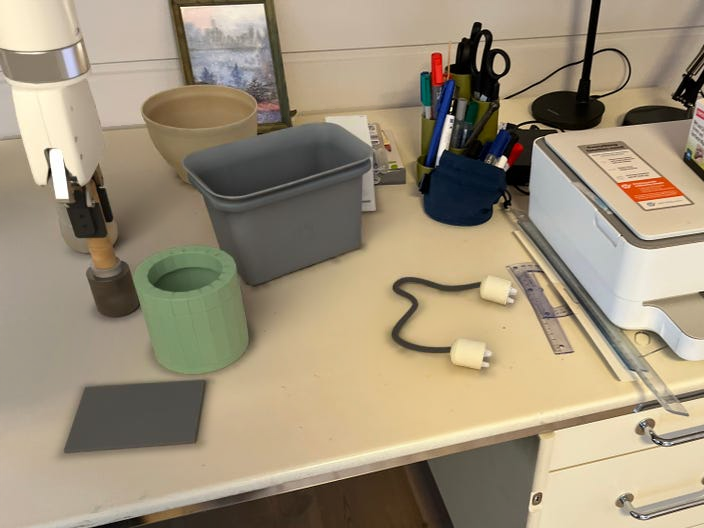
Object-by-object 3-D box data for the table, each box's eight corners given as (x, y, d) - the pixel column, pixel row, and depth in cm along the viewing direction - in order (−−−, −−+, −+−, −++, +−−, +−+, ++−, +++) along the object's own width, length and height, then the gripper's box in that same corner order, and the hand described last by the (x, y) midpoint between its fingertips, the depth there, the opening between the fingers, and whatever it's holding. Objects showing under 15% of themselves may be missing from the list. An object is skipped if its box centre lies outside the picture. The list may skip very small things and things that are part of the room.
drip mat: (64, 453, 72) (63, 450, 72) (86, 389, 79) (84, 387, 78) (195, 443, 74) (194, 440, 74) (205, 382, 81) (204, 379, 80)
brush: (93, 317, 87) (52, 193, 77) (101, 294, 91) (63, 173, 80) (135, 316, 88) (100, 193, 78) (142, 293, 92) (109, 172, 81)
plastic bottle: (111, 260, 97) (65, 109, 84) (58, 258, 97) (3, 106, 84) (129, 234, 102) (87, 87, 89) (78, 232, 101) (29, 84, 88)
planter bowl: (179, 209, 107) (163, 137, 100) (142, 164, 117) (125, 95, 110) (283, 183, 115) (275, 114, 108) (241, 143, 125) (231, 77, 118)
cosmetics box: (328, 179, 117) (323, 114, 110) (370, 178, 118) (368, 113, 111) (331, 213, 109) (326, 145, 102) (376, 211, 110) (374, 144, 103)
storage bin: (239, 306, 91) (220, 200, 82) (187, 249, 100) (164, 147, 91) (386, 253, 102) (384, 154, 93) (328, 205, 111) (320, 111, 101)
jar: (147, 377, 81) (124, 302, 74) (162, 319, 88) (142, 246, 82) (245, 371, 82) (231, 297, 76) (251, 315, 90) (239, 243, 83)
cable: (357, 352, 86) (355, 329, 84) (401, 276, 98) (400, 253, 96) (489, 379, 84) (491, 355, 81) (517, 297, 96) (520, 275, 94)
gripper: (25, 30, 76) (76, 194, 88) (-29, 91, 64) (38, 271, 76) (104, 32, 77) (143, 193, 89) (66, 92, 65) (117, 268, 77)
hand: (95, 227), depth 83 cm, fingers closed on brush, 2 cm apart
